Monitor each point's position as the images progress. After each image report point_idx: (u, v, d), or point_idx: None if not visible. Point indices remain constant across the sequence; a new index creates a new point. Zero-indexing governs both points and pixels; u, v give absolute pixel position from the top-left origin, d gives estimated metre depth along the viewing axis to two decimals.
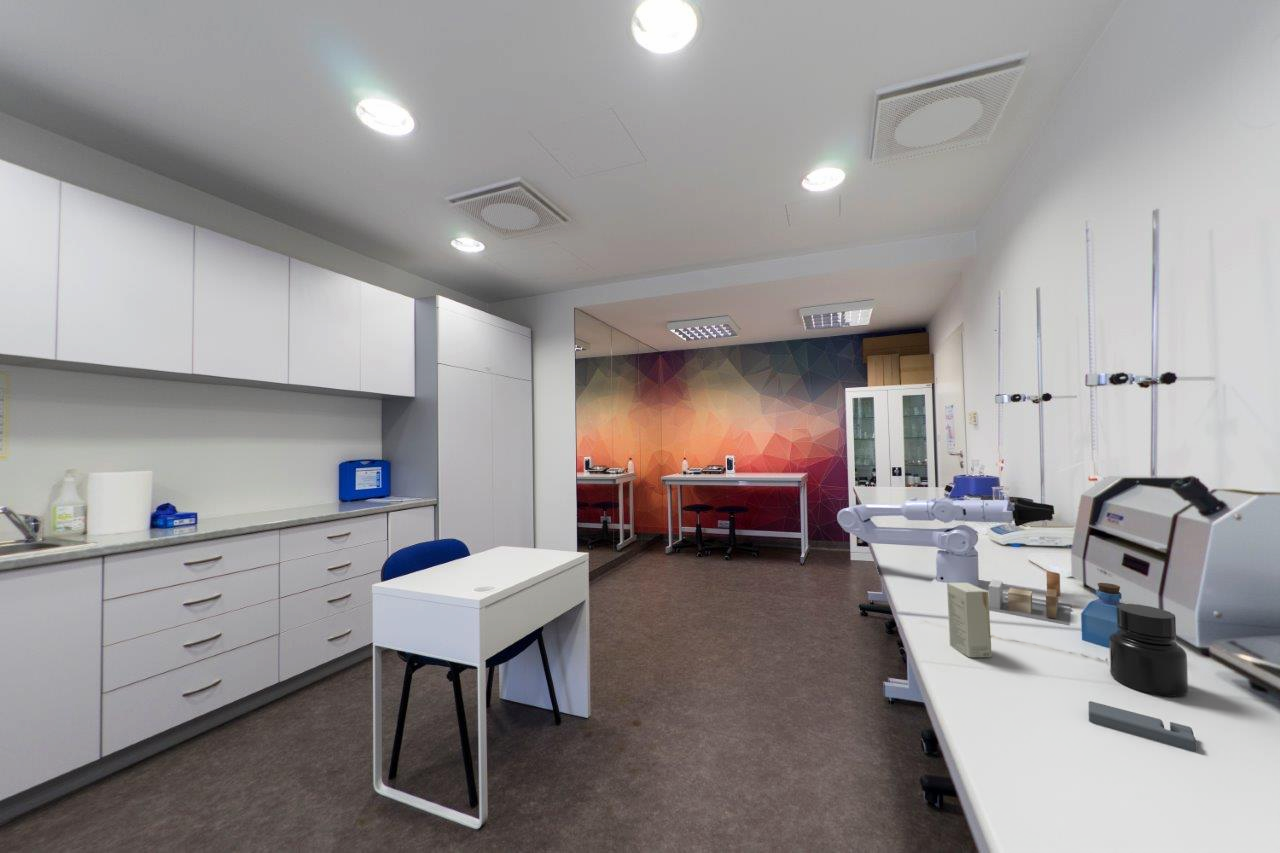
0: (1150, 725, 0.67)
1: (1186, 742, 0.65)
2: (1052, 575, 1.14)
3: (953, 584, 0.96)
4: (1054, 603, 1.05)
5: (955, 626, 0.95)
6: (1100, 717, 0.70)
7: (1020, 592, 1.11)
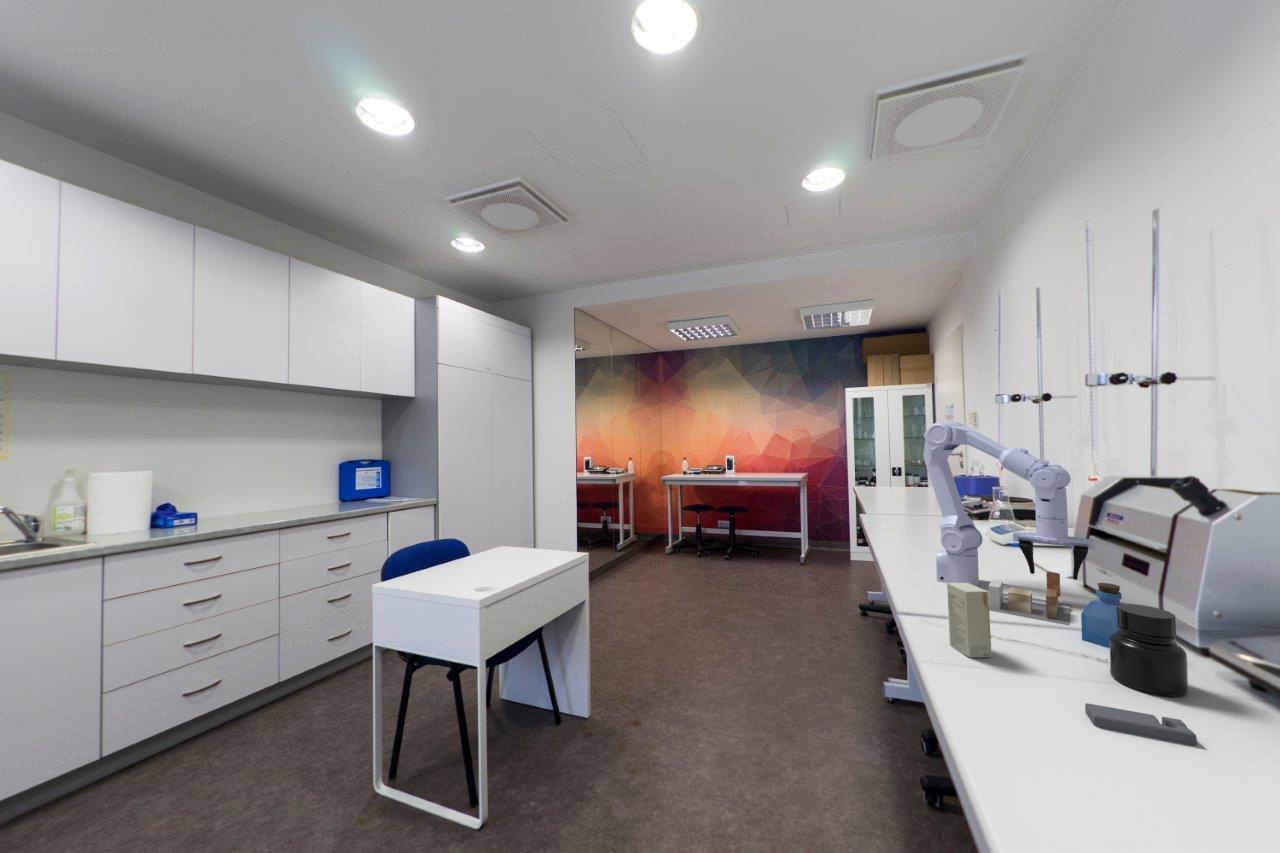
0: (1151, 723, 0.68)
1: (1187, 737, 0.65)
2: (1052, 575, 1.14)
3: (953, 584, 0.96)
4: (1054, 603, 1.05)
5: (955, 626, 0.95)
6: (1106, 720, 0.69)
7: (1020, 592, 1.11)
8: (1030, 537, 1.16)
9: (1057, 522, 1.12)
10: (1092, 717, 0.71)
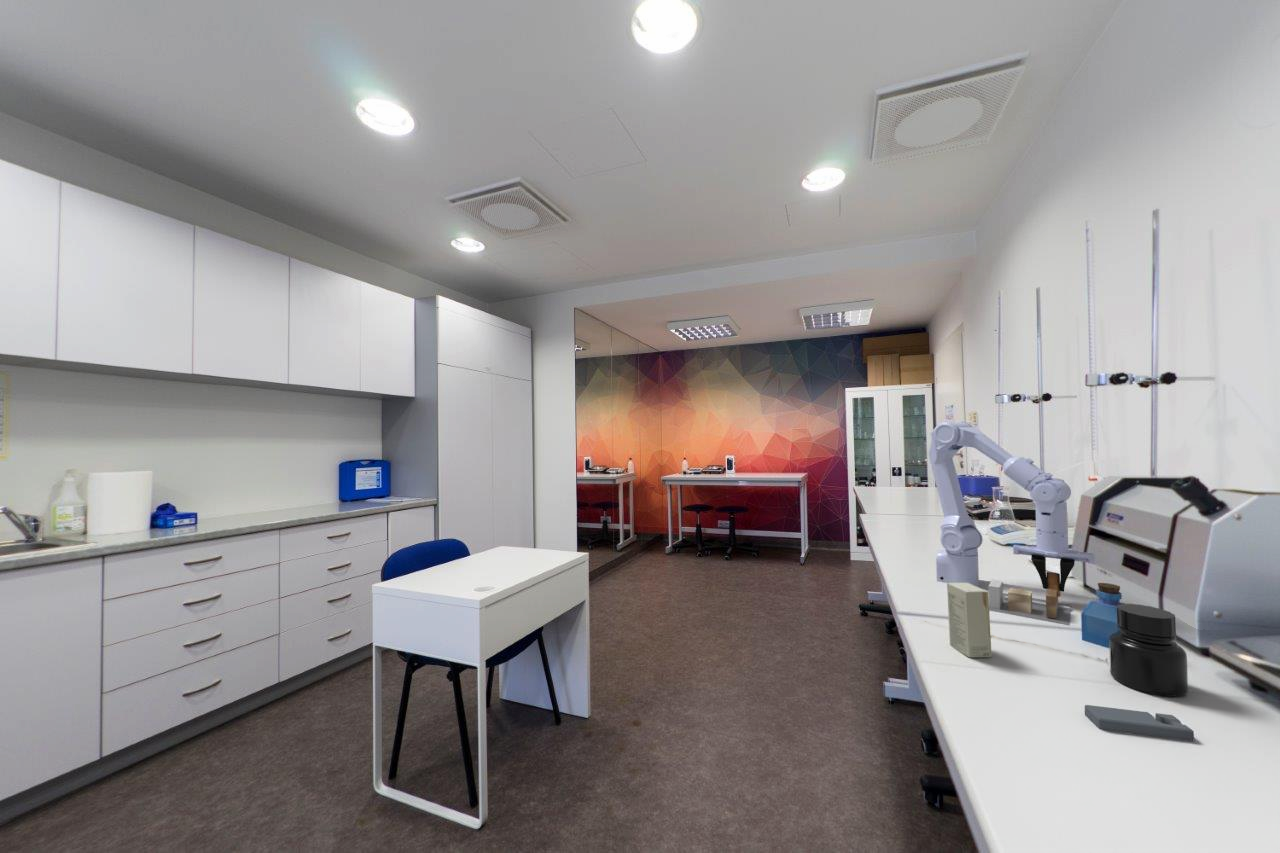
0: (1151, 722, 0.68)
1: (1186, 734, 0.66)
2: (1052, 575, 1.14)
3: (953, 584, 0.96)
4: (1054, 603, 1.05)
5: (955, 626, 0.95)
6: (1110, 723, 0.69)
7: (1020, 592, 1.11)
8: (1030, 550, 1.16)
9: (1057, 536, 1.12)
10: (1096, 720, 0.70)
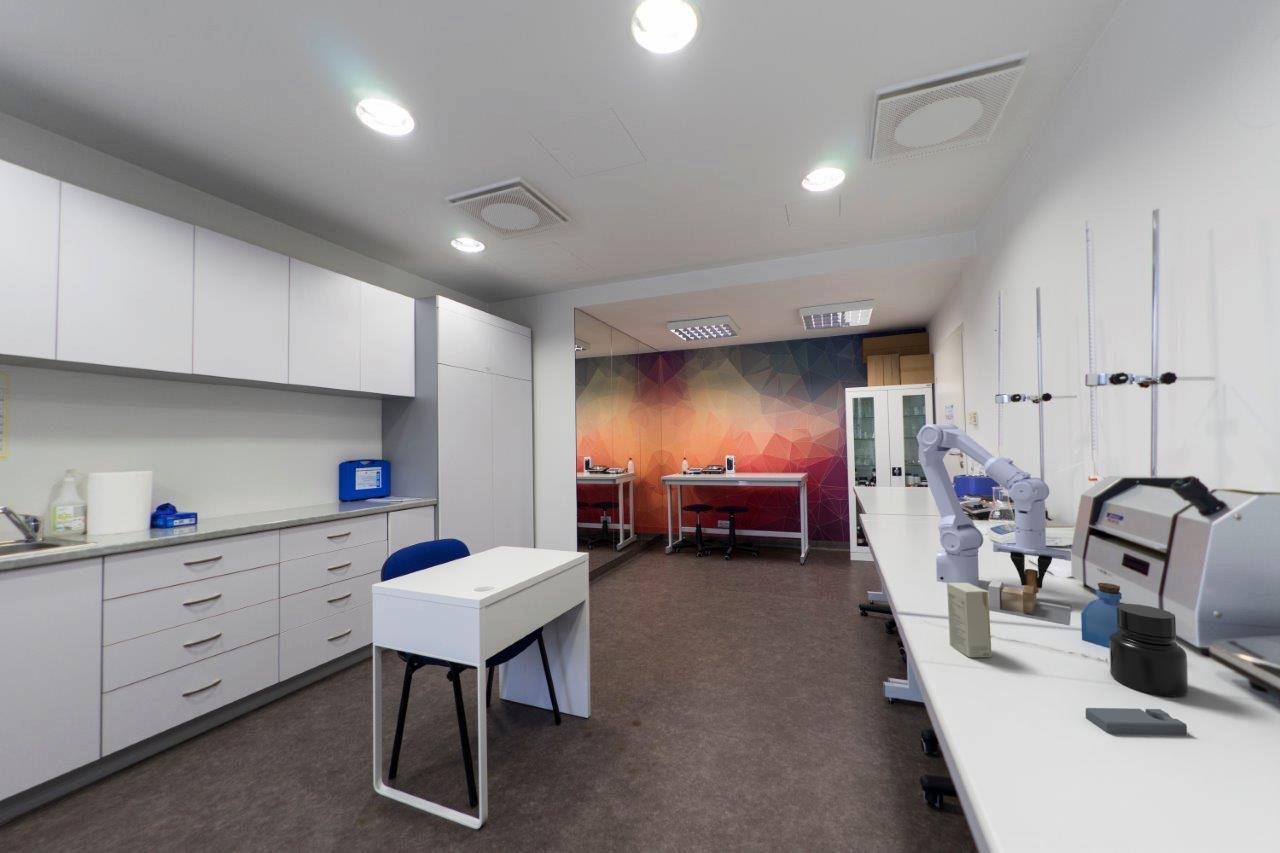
0: (1150, 720, 0.68)
1: (1181, 728, 0.67)
2: (1030, 572, 1.17)
3: (953, 584, 0.96)
4: (1030, 599, 1.08)
5: (955, 626, 0.95)
6: (1117, 725, 0.68)
7: (1013, 591, 1.12)
8: (1009, 548, 1.19)
9: (1035, 534, 1.15)
10: (1102, 724, 0.69)
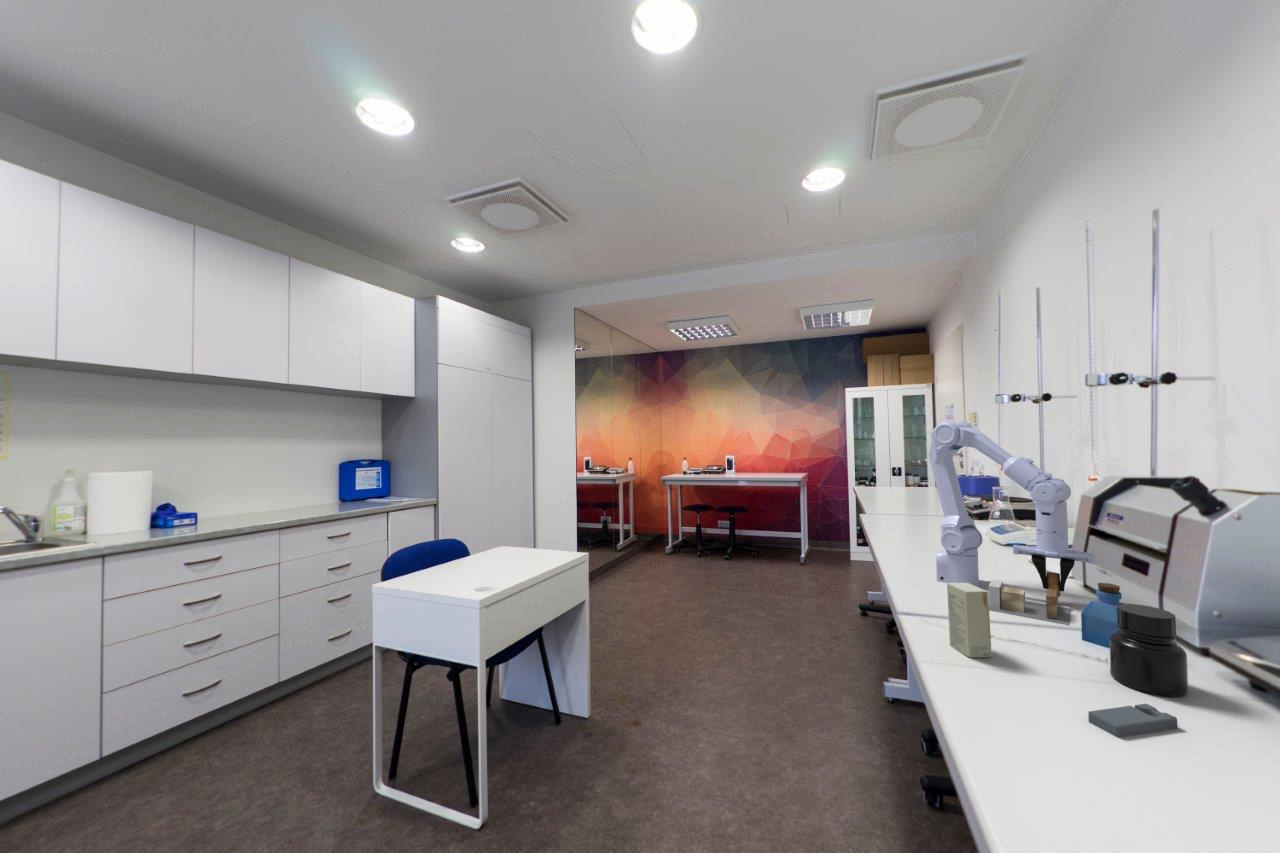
0: (1147, 717, 0.69)
1: (1173, 722, 0.69)
2: (1052, 575, 1.14)
3: (953, 584, 0.96)
4: (1054, 603, 1.05)
5: (955, 626, 0.95)
6: (1124, 728, 0.67)
7: (1013, 591, 1.12)
8: (1030, 550, 1.16)
9: (1057, 536, 1.12)
10: (1110, 727, 0.68)
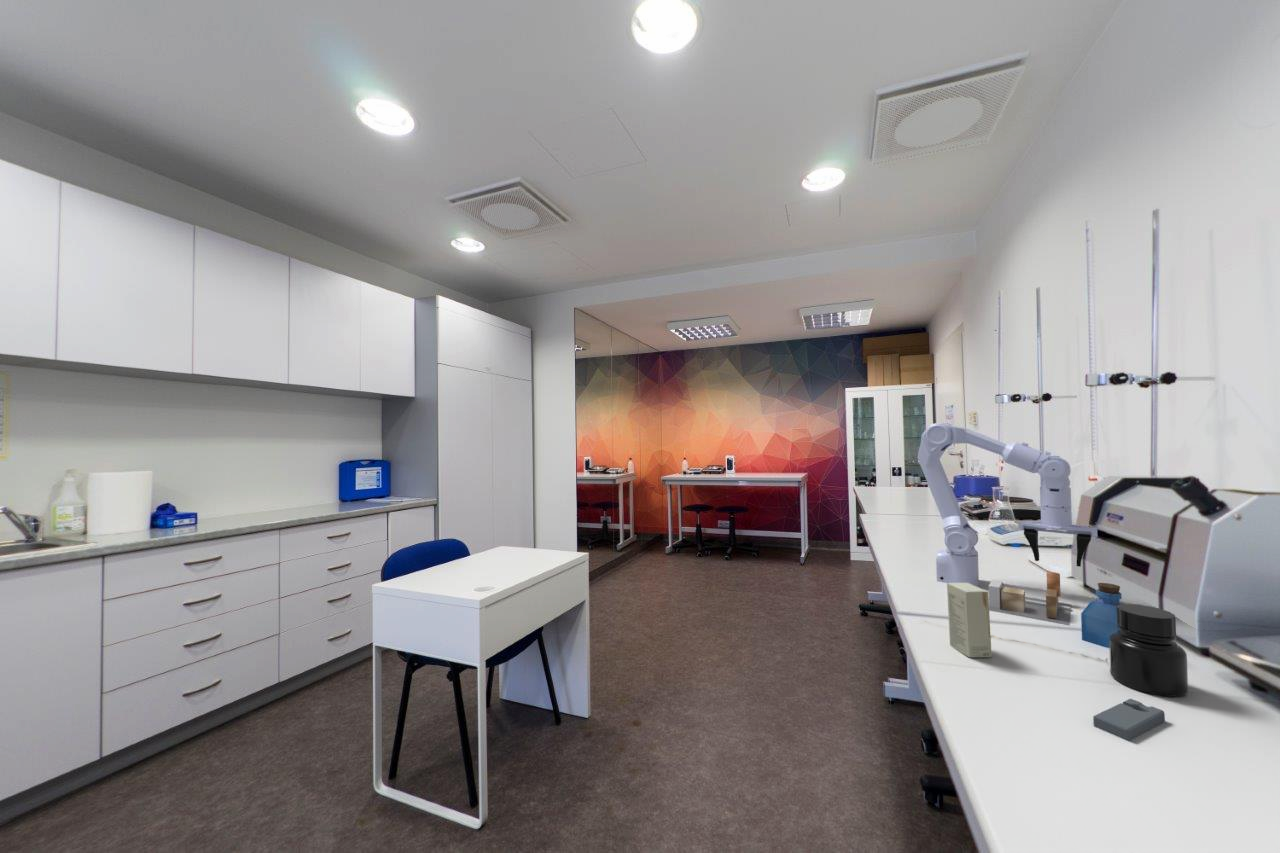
0: (1143, 715, 0.70)
1: (1162, 716, 0.70)
2: (1052, 575, 1.14)
3: (953, 584, 0.96)
4: (1054, 603, 1.05)
5: (955, 626, 0.95)
6: (1132, 730, 0.67)
7: (1013, 591, 1.12)
8: (1035, 525, 1.20)
9: (1061, 511, 1.16)
10: (1120, 731, 0.67)
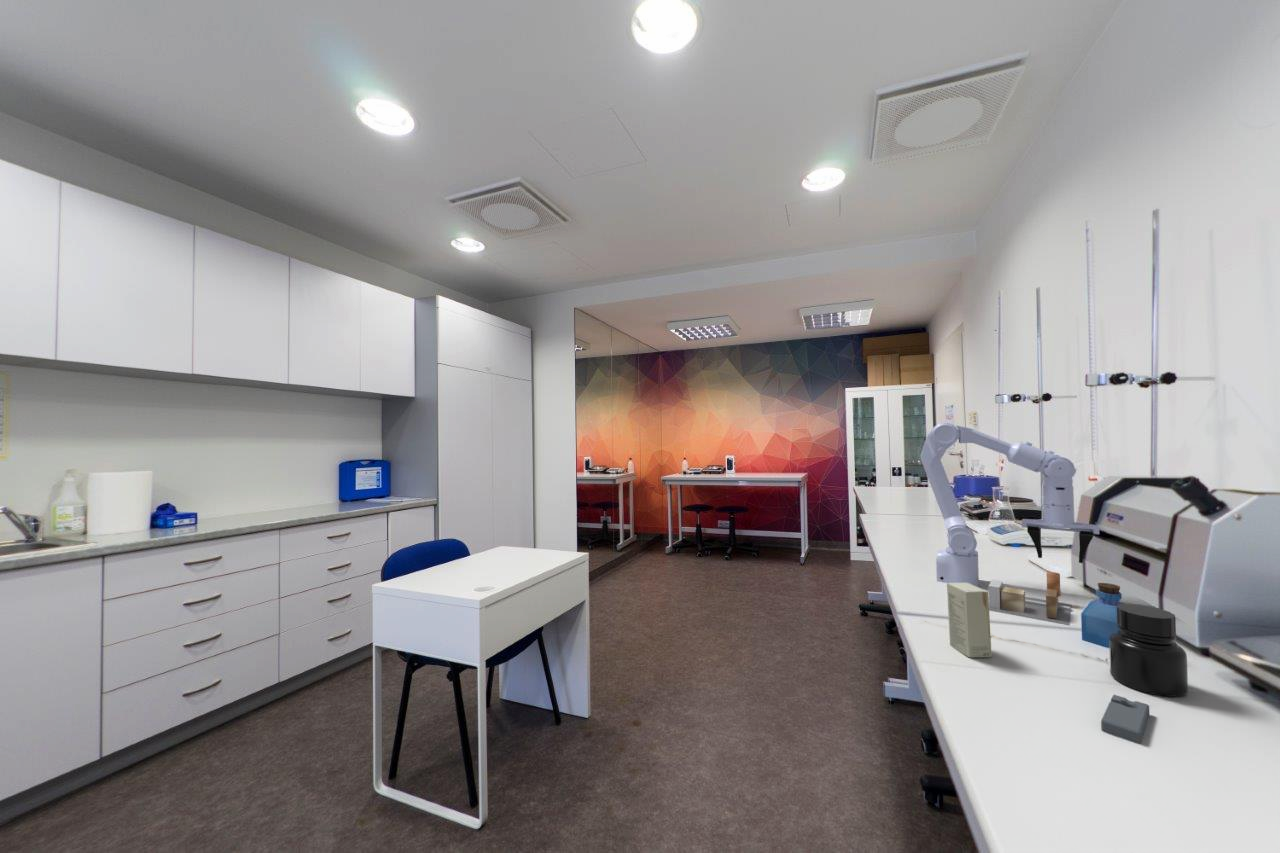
0: (1137, 712, 0.70)
1: (1148, 710, 0.72)
2: (1052, 575, 1.14)
3: (953, 584, 0.96)
4: (1054, 603, 1.05)
5: (955, 626, 0.95)
6: (1141, 732, 0.67)
7: (1013, 591, 1.12)
8: (1038, 523, 1.23)
9: (1064, 509, 1.19)
10: (1131, 734, 0.66)
